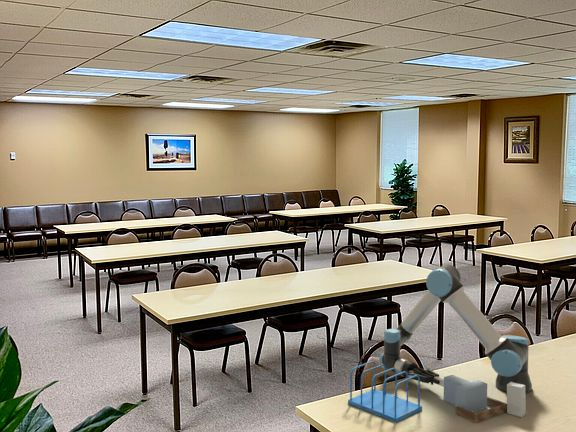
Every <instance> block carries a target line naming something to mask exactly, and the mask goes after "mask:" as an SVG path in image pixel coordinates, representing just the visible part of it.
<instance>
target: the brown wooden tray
mask: <svg viewBox="0 0 576 432" xmlns="http://www.w3.org/2000/svg"><path fill="white" fill-rule="evenodd" d="M487 406H489V407H492V408H488V409H486V410H483V411H480V412H477V413H476V412H470V411H468V410H466V409H463V408H461V407H458V406H457V407H456V410H455V415H456V416H460V417H461V418H464V419H466V420H468V421H470V422H471V421H472V422H474V423H475V424H478V423H480V422H484V421H485V420H488V419H491V418H493V417H496V416H499V415H502V414H504V413H507V402H504V401H500V400H497V399H496V398H492V397H489V396H487Z"/></svg>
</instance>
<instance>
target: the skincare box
mask: <svg viewBox="0 0 576 432" xmlns="http://www.w3.org/2000/svg"><path fill="white" fill-rule="evenodd" d="M526 399H527V397H526V393H525V385H523V384H518V383H514V382H510V383H508V384H507V392H506V404H507V412H506V414H509V415H512V416H515V417H520V418H523V417H524V416H525V415H526V414H527V413H526V411H527V410H526V407H527V406H526V403H527V401H526Z"/></svg>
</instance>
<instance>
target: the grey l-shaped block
mask: <svg viewBox="0 0 576 432" xmlns="http://www.w3.org/2000/svg"><path fill="white" fill-rule="evenodd" d="M443 379H444V387H443V401H444V402H447V403H450V404H452V405H454V406H455V411H456V407H457V406H458V407H461V408H463V409H466V410H468V411H470V412H473V413H476V412H478V411H480V410H483V409H486V408H488V405H487V397H488V383H486V382H485V381H481V380H479V379H475V380H473V381H470V380H467V379H464V378H461V377H460V376H456V375H454V374H451V375H447V376H443Z"/></svg>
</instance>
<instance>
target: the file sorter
mask: <svg viewBox="0 0 576 432" xmlns="http://www.w3.org/2000/svg"><path fill="white" fill-rule="evenodd" d="M369 364H373V367H371V368H368V369H366V370H364V371H362V373H361V375H360V394H358V395H355V396H354V397H353V390H352V389H353V385H352V384H353V383H352V382H353V377H352V375H353V372H354V370H356V369H358V368H361V367H363V366H366V365H369ZM381 366H384V368H385V369H384V368H383V369H384V371H380V372H379V373H376V371H377V369H378V368H382V367H381ZM393 369H394V370H395V374H393V375H391V376H389V377H387V372H391V371H390V370H393ZM372 370H373V373H374V375H373V377H372V379H371V390H368V391H366V392H364V393H363V377H364V375H365V373H368V372H370V371H372ZM403 373H406V376H407V378H405V379H404V380H401V381H399V382H398V376H401V374H403ZM382 374H384V381H383V383H382V384H383V385H382V390H378V389H377V387H376V384H377V383H376V382H377V379H376V377H377V376H381V375H382ZM349 375H350V376H349V379H350V380H349V386H350V387H349V389H350V390H349V399H348V400H347V404H349V405H352V406H353V407H356V408H358V409H361V410H364V411H367V412H369V413H372V414H373V415H376V416H379V417H382V418H384V419H387V420H389V421H392V422H394V423H398V422H400V421H402V420H403V419H406V418H408V417H410V416H412V415H414V414H416V413H418V412H420V411H422V410H423V406H422V405H421V404H420V402H421V382H420V378H419V376H418V375H415V376H412V377H410V378H408V374H407V372H405V371H404V372H401V373H398V374H397V371H396V369H395V368H391V369H388V370H386V367H385V365H380V364H378V365H377V366H376V362H375V361H373V360H371V361H368V362H364V363H363V364H359V365H357V366H355V367H353V368H352V369H351V370H350V374H349ZM414 377H418V381H417V383H418V384H417V385H418V386H417V390H418V391H417V393H418V394H417V403H415V402H414V401H413V402H412V401H409V381H410V380H413V379H412V378H414ZM393 378H395V385H394V386H395V387H394V395H393V394H390V393H387V381H389V380H390V379H393ZM402 383H406V399H404V398H401V397H399V396H398V386H399V385H401V384H402Z"/></svg>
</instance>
